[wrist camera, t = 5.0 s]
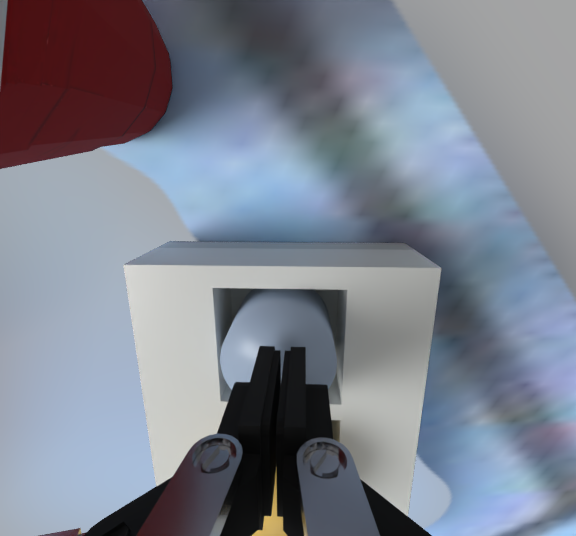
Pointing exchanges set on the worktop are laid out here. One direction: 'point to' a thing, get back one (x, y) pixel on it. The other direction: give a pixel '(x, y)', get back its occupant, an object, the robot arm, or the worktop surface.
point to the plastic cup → (78, 76)
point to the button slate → (280, 333)
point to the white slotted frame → (345, 329)
